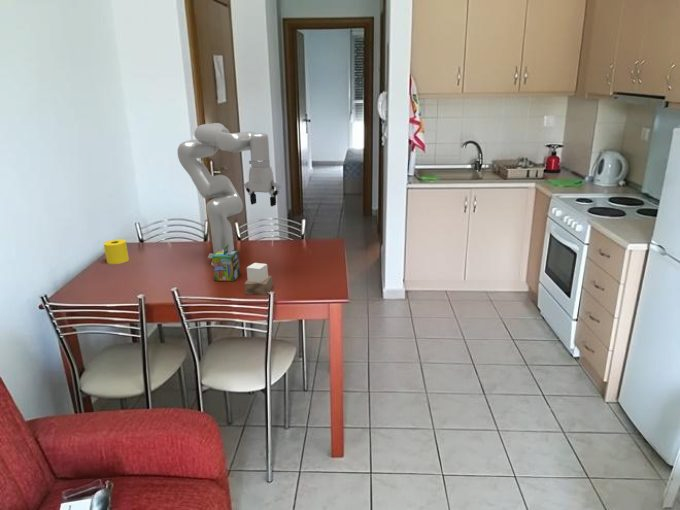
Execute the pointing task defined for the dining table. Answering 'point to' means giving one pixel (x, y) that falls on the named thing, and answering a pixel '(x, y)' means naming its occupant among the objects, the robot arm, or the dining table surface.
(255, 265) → the cream cube
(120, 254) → the tape roll
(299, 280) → the dining table surface
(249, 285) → the walnut block
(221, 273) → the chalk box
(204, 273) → the dining table surface
